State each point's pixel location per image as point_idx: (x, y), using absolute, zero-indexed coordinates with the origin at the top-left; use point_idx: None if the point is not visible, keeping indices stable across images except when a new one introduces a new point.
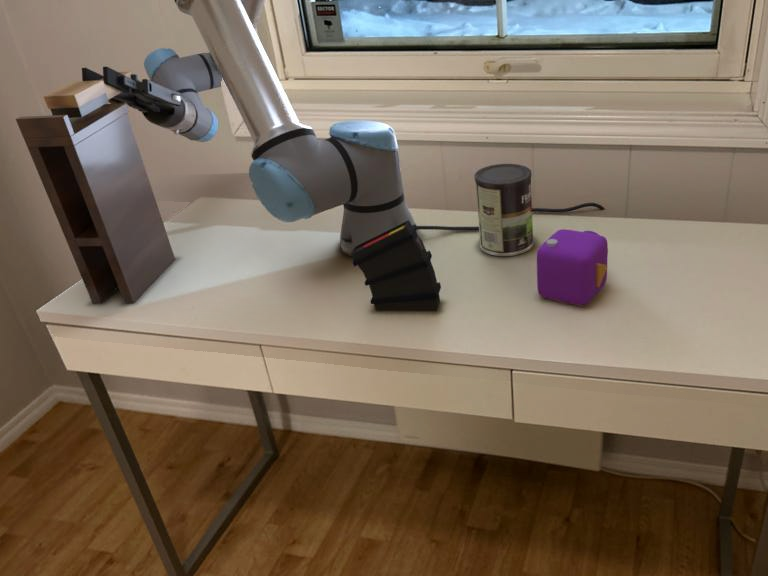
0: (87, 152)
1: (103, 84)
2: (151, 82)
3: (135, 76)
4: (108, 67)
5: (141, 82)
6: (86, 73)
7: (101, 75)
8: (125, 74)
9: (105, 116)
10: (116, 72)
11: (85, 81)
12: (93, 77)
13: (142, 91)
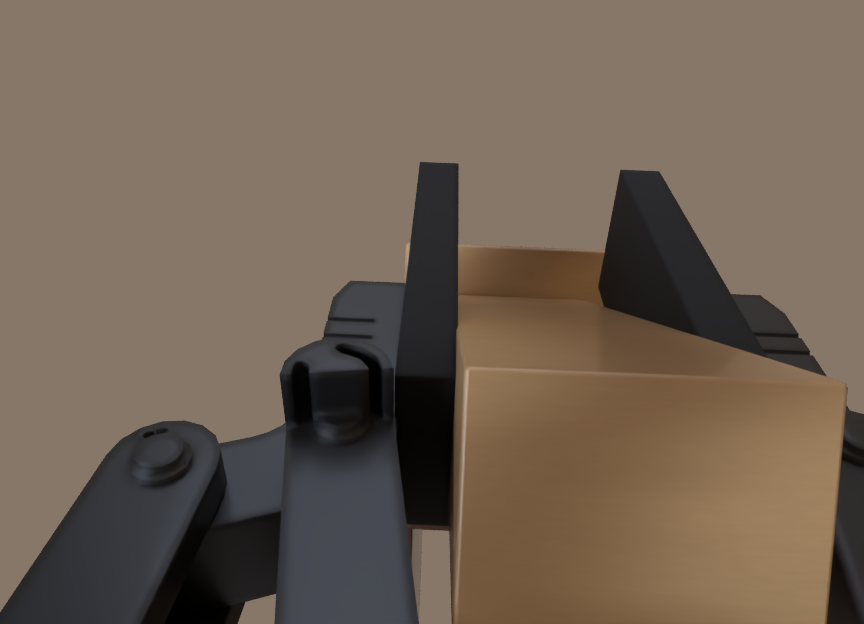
0: None
1: (405, 268)
2: (70, 532)
3: (300, 372)
4: (419, 172)
5: (223, 448)
6: (612, 216)
7: (675, 293)
8: (459, 341)
9: None
10: (411, 237)
11: (530, 247)
12: (631, 270)
13: (257, 593)
